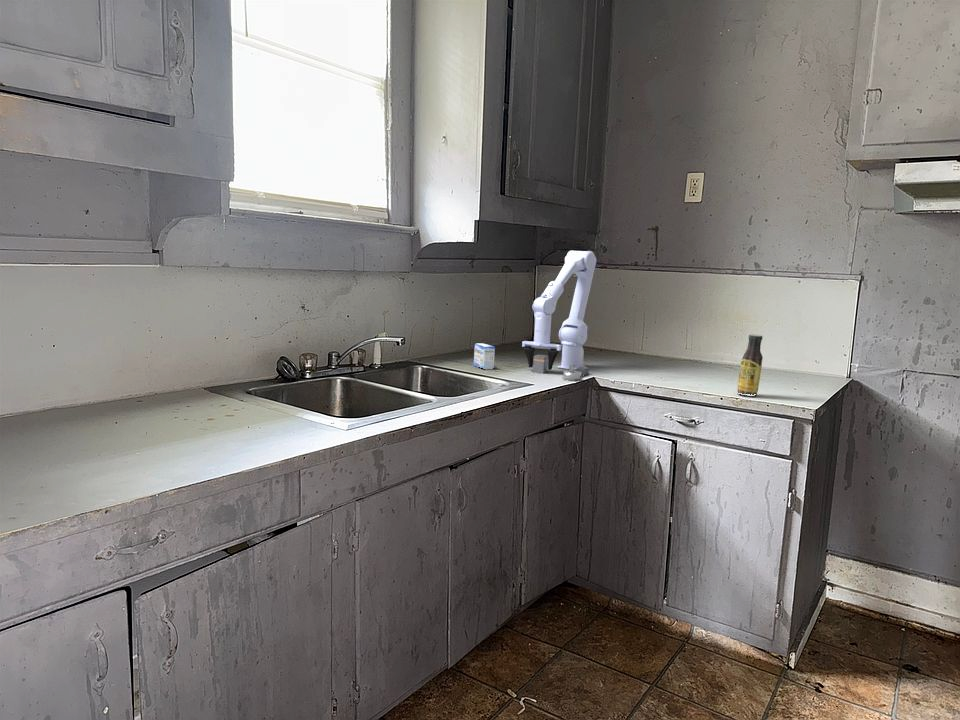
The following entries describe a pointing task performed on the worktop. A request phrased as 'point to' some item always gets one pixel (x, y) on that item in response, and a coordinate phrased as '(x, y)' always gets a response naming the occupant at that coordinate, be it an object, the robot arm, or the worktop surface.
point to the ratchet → (574, 373)
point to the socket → (540, 363)
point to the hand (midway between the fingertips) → (540, 368)
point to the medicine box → (484, 356)
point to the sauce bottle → (751, 367)
